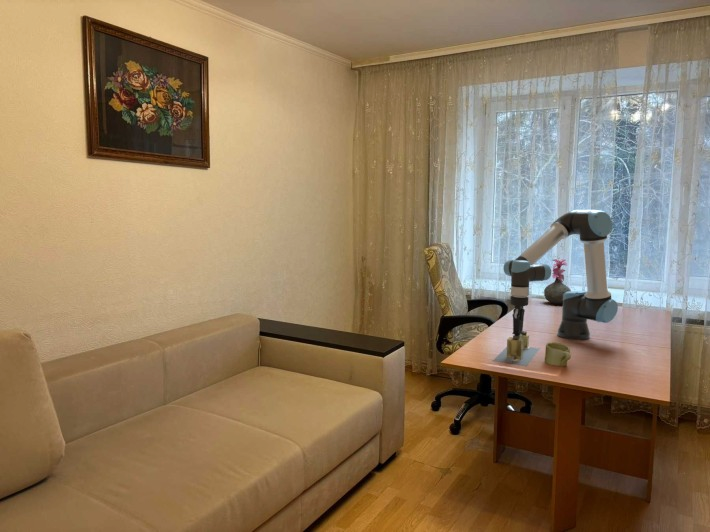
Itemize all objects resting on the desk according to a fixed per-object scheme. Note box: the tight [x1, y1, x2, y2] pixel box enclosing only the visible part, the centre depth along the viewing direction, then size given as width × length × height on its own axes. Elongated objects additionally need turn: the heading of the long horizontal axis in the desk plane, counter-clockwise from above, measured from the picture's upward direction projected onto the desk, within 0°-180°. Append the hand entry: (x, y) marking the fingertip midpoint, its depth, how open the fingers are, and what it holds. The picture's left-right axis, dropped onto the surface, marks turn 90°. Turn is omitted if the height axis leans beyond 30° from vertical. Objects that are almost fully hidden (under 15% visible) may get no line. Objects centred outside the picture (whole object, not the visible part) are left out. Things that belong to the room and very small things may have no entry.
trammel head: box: [506, 334, 524, 359], centre depth 227 cm, size 6×4×9 cm
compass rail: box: [505, 331, 530, 365], centre depth 231 cm, size 4×29×7 cm, turn 151°
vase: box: [543, 258, 572, 306], centre depth 349 cm, size 17×18×30 cm
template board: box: [492, 346, 541, 367], centre depth 232 cm, size 14×31×1 cm, turn 150°
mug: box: [544, 342, 572, 368], centre depth 218 cm, size 12×10×10 cm
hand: (517, 348), depth 231 cm, fingers closed
